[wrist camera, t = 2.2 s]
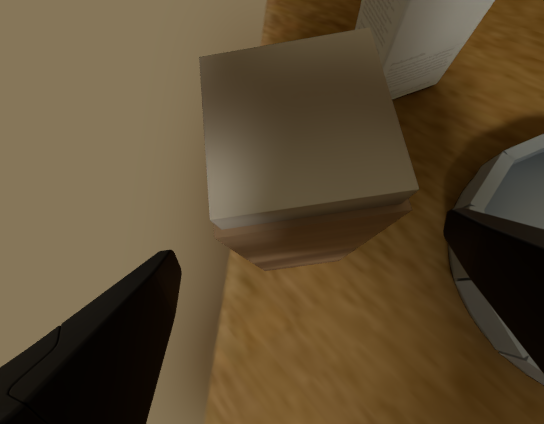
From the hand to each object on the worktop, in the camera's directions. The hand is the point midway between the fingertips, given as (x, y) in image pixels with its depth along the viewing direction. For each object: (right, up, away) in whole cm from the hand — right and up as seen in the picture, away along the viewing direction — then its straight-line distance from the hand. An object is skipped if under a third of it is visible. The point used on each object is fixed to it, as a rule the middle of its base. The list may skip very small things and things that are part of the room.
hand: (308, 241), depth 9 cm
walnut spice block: (0, 0, +10) cm, 10 cm away
